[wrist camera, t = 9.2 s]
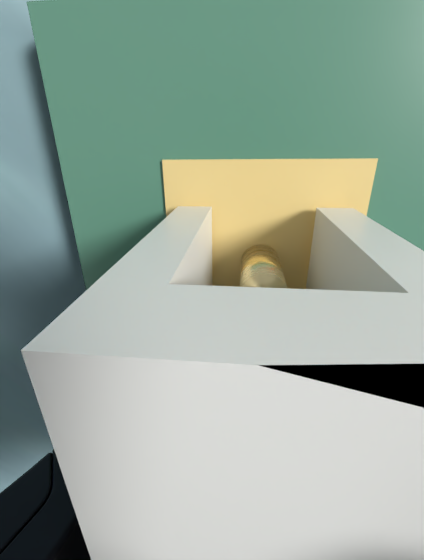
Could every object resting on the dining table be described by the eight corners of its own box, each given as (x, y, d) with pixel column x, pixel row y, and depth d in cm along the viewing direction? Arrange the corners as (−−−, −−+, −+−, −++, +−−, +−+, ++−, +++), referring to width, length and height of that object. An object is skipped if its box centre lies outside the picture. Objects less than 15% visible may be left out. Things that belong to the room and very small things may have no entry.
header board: (363, 484, 13) (397, 584, 10) (136, 462, 14) (107, 546, 11) (517, -3, 6) (754, -129, 3) (59, 23, 7) (-66, -58, 4)
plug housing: (309, 449, 10) (370, 749, 5) (191, 438, 10) (140, 707, 5) (352, 208, 7) (652, 390, 2) (178, 206, 7) (21, 350, 2)
